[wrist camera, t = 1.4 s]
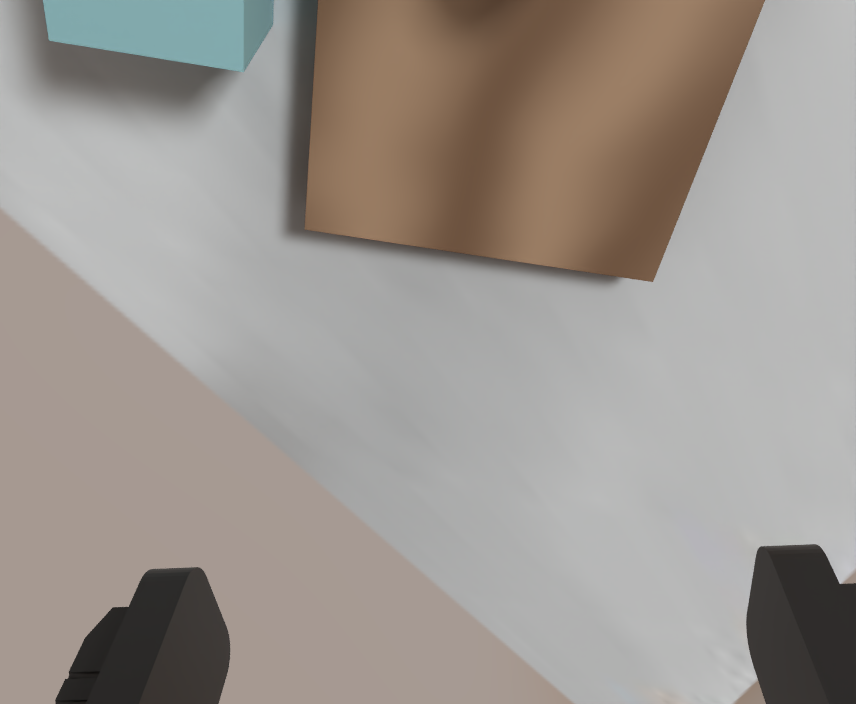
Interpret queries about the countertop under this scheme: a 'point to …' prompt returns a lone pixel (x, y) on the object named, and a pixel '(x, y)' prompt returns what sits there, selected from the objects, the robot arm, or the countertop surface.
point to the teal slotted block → (165, 28)
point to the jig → (518, 123)
